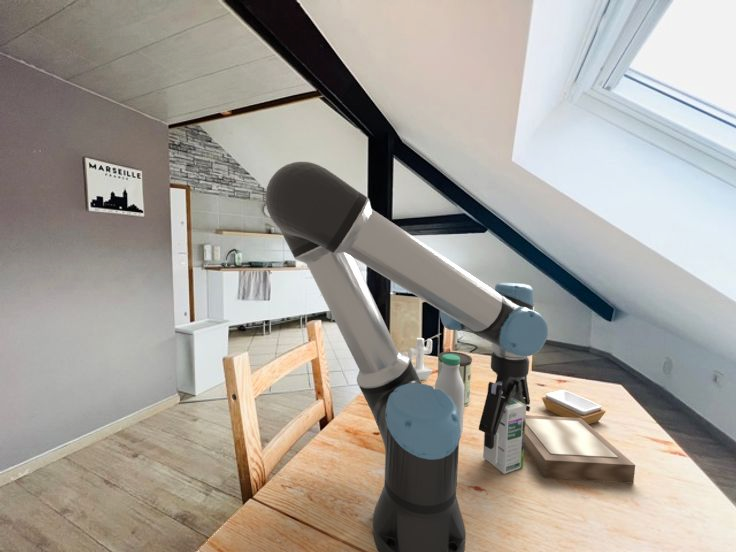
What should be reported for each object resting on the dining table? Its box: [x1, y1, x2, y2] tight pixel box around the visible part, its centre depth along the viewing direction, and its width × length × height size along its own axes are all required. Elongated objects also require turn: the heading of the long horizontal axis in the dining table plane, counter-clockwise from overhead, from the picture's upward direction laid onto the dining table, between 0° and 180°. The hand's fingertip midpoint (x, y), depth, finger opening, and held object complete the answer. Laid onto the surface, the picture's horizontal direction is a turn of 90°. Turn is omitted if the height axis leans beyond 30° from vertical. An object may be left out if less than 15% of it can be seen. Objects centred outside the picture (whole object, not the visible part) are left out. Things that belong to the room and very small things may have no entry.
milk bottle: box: [434, 354, 465, 436], centre depth 81 cm, size 8×8×20 cm
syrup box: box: [488, 396, 527, 475], centre depth 69 cm, size 6×6×14 cm
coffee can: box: [437, 351, 473, 408], centre depth 98 cm, size 10×10×14 cm
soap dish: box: [541, 389, 607, 425], centre depth 91 cm, size 12×10×5 cm
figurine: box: [407, 337, 434, 381], centre depth 115 cm, size 7×9×15 cm
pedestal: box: [524, 414, 636, 484], centre depth 74 cm, size 18×18×4 cm
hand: (504, 447), depth 70 cm, fingers open, 12 cm apart
